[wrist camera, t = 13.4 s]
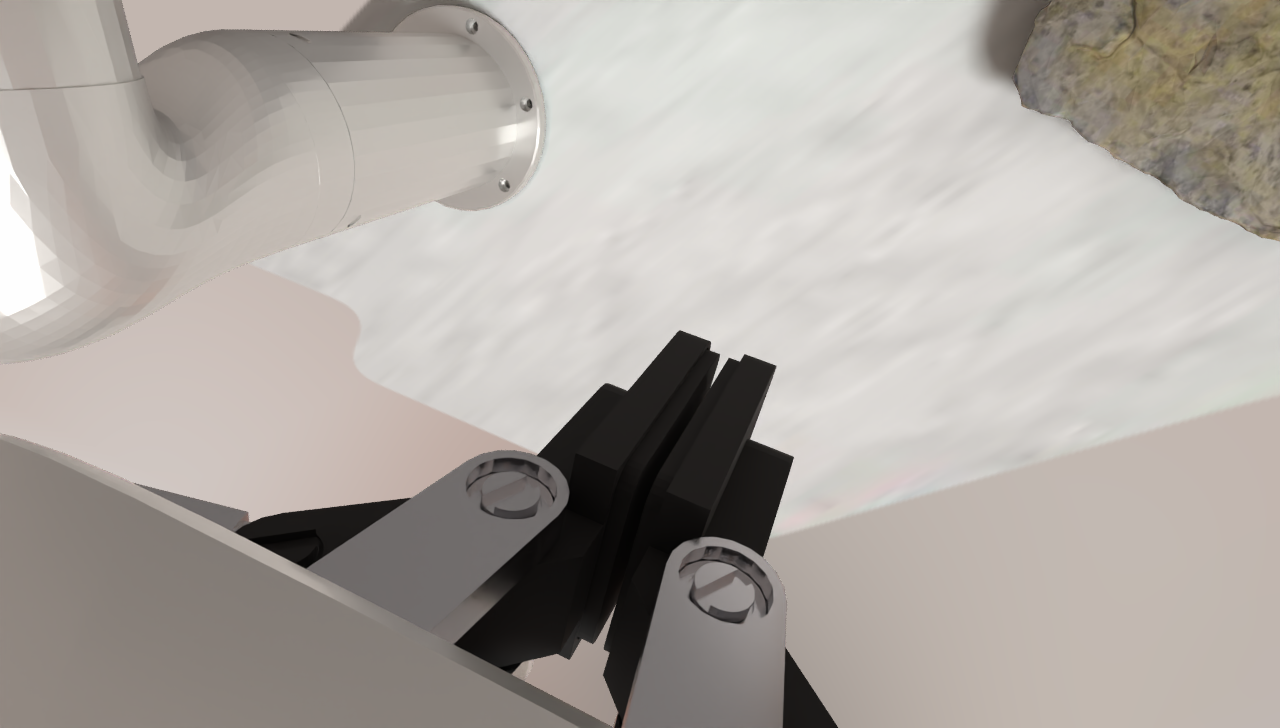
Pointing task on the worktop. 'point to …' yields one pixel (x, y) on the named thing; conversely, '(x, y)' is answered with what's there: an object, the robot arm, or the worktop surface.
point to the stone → (1170, 94)
